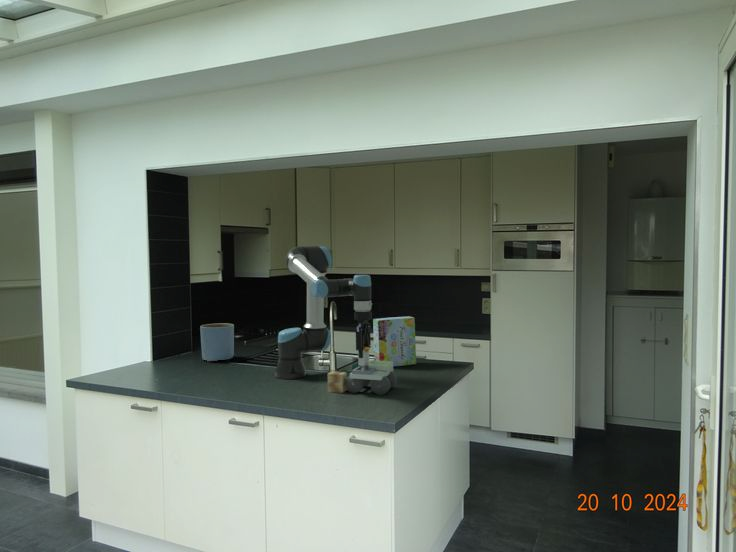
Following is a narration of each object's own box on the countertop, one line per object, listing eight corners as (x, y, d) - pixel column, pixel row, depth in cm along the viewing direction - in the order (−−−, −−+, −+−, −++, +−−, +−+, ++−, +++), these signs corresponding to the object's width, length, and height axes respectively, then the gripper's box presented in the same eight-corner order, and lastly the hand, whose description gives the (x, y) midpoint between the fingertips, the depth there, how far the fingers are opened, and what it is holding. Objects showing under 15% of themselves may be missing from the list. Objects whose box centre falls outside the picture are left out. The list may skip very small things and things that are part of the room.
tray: (362, 370, 241) (362, 364, 241) (370, 365, 251) (370, 360, 251) (386, 371, 238) (386, 365, 238) (393, 366, 247) (393, 361, 247)
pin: (357, 372, 235) (357, 347, 235) (360, 370, 240) (360, 345, 239) (367, 373, 234) (368, 348, 234) (370, 371, 239) (370, 346, 238)
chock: (327, 391, 240) (327, 373, 240) (332, 389, 245) (331, 371, 245) (342, 392, 238) (342, 374, 238) (346, 390, 243) (346, 372, 243)
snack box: (409, 362, 302) (409, 315, 301) (416, 364, 294) (416, 317, 293) (373, 365, 294) (372, 318, 293) (379, 368, 286) (378, 319, 285)
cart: (342, 393, 236) (342, 369, 236) (357, 384, 253) (357, 361, 253) (386, 397, 230) (386, 372, 229) (398, 386, 247) (398, 363, 246)
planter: (204, 356, 328) (203, 323, 327) (236, 355, 330) (235, 322, 329) (198, 363, 309) (197, 328, 308) (232, 361, 311) (231, 327, 310)
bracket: (370, 377, 267) (370, 361, 266) (364, 380, 261) (363, 364, 261) (339, 374, 275) (339, 358, 275) (332, 377, 270) (332, 361, 269)
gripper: (363, 313, 226) (364, 368, 227) (377, 308, 243) (378, 360, 244) (347, 312, 229) (348, 367, 230) (361, 308, 245) (362, 359, 246)
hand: (363, 363), depth 237 cm, fingers closed on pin, 4 cm apart
